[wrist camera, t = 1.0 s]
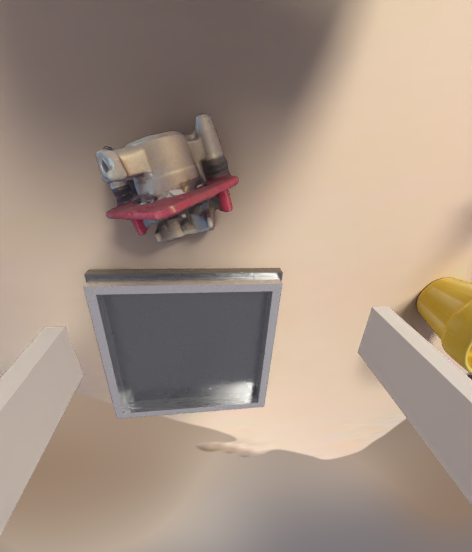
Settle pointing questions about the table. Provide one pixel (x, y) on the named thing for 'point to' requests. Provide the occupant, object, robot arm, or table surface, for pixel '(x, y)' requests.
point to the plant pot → (450, 316)
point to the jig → (184, 337)
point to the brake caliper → (169, 181)
